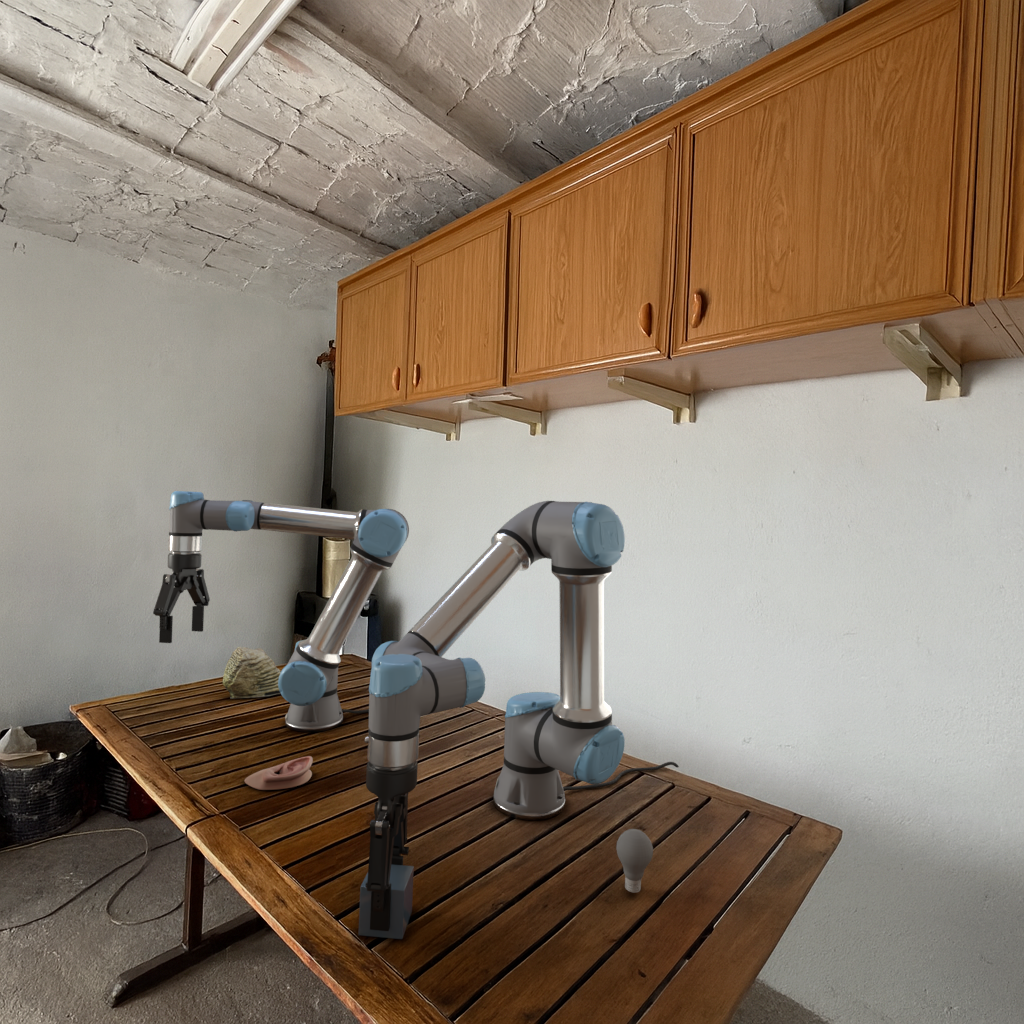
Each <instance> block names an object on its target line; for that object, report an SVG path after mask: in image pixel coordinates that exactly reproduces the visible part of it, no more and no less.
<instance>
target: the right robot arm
mask: <svg viewBox="0 0 1024 1024" xmlns="http://www.w3.org/2000/svg"><path fill="white" fill-rule="evenodd" d="M490 543H491V545H490V546H488V548H487V549H485V551H484V552H483V553H482V554H481V555H480V556H479V557H478V558H477V559H476V560H475V561H474V562H473V563H472V564H471V566H470V567H469V568H468V569H467V570H465V572H464V573H463V574H461V576H460V577H459V578H458V579H457V580H456V581H455V582H454V584H452V585H451V587H449V588H448V590H447V591H446V592H444V594H443V595H441V597H440V598H439V599H438V600H437V601H436V602H435V603H434V604H433V605H432V606H431V607H430V608H429V610H428V611H427V612H426V613H425V614H424V615H423V616H422V617H421V618H420V619H419V620H418V621H417V622H416V623H415V624H414V625H413V626H412V627H411V628H410V629H409V630H408V631H407V633H406V634H404V636H402V638H401V639H400V640H389V641H385V642H384V643H381V644H380V645H378V647H377V648H376V649H375V651H374V653H373V655H372V658H371V670H370V677H369V686H368V693H369V697H368V701H369V702H368V709H369V712H368V731H367V732H368V734H367V735H368V736H365V738H364V743H365V744H367V755H366V757H367V761H368V762H367V763H366V774H365V776H366V777H365V786H366V789H367V790H368V791H369V792H370V793H372V794H374V795H375V796H376V797H377V798H378V799H377V801H375V804H374V808H373V809H374V810H373V815H374V819H371V820H370V822H369V851H368V852H369V853H368V867H367V868H368V869H367V873H368V882H367V883H366V884H365V887H367V891H371V914H370V930H380V931H389V928H390V906H391V883H390V882H389V881H390V872H391V864H394V865H404V855H409V851H410V846H405V845H406V844H407V842H408V815H409V813H408V812H409V811H408V810H409V809H408V808H409V807H408V806H409V793H411V792H412V791H413V790H415V788H416V786H417V784H418V767H419V766H418V765H419V763H418V759H419V754H420V753H419V751H420V749H419V748H420V725H421V717H424V716H430V715H432V714H436V713H441V712H445V711H450V710H455V709H461V708H464V707H466V706H468V705H472V704H474V703H477V702H479V701H480V700H481V699H482V697H483V695H484V693H485V690H486V675H485V672H484V669H483V666H482V665H481V664H480V662H479V661H477V660H476V659H475V658H472V657H457V658H455V659H448V658H446V657H443V656H444V655H445V654H446V653H447V652H448V650H449V649H451V647H452V646H453V645H454V644H455V643H456V642H457V641H458V640H459V638H460V637H461V636H462V635H463V634H464V633H465V632H466V630H467V629H468V628H469V627H470V626H471V625H472V624H473V623H474V622H475V620H476V619H477V618H478V617H479V616H480V615H481V614H482V612H484V610H486V608H487V607H488V606H489V605H490V604H491V603H492V602H493V600H494V599H495V598H497V596H498V595H499V594H500V593H501V592H502V590H503V589H504V588H506V586H507V585H508V584H509V582H510V581H511V580H512V579H513V578H514V577H515V576H516V575H517V573H518V572H519V571H520V572H523V571H527V570H528V569H529V568H530V567H531V565H533V563H535V562H537V561H539V560H542V559H549V560H550V561H551V562H550V563H551V564H550V565H551V570H550V571H551V574H552V575H554V577H555V578H556V579H557V580H558V584H559V585H558V586H559V588H558V589H559V694H557V693H554V692H546V691H531V692H530V691H529V692H523V693H518V694H515V695H513V696H510V698H508V700H507V702H506V707H505V714H504V738H503V739H504V741H503V743H504V744H503V765H502V768H501V771H500V774H499V775H498V776H497V779H496V782H495V783H496V784H495V787H494V791H493V799H492V800H493V805H494V806H495V808H496V809H497V810H498V811H499V812H501V813H502V814H504V815H506V816H508V817H512V818H515V819H519V820H525V821H540V820H547V819H552V818H553V817H556V816H558V815H559V814H561V813H562V812H563V811H564V810H565V807H566V793H565V791H579V790H590V789H597V788H598V789H599V788H604V787H608V786H611V785H614V784H616V783H617V782H618V781H619V780H620V779H621V778H622V777H623V776H624V775H626V774H629V773H635V772H650V771H657V770H661V769H663V768H665V767H667V766H674V767H675V768H680V766H679V764H677V763H676V762H674V761H667V762H664V763H662V764H660V765H656V766H649V767H633V768H628V769H625V770H622V771H621V772H619V773H618V775H617V776H616V777H615V778H613V779H612V780H609V779H610V778H611V777H612V776H613V774H614V773H615V772H616V771H617V768H618V767H619V765H620V763H621V761H622V758H623V755H624V751H625V746H626V745H625V743H626V741H625V735H624V733H623V731H622V730H621V728H619V727H618V726H616V725H615V724H613V711H612V710H613V709H612V707H611V705H610V704H608V703H607V702H606V701H605V581H606V579H607V578H608V577H609V576H610V575H611V574H612V571H613V566H614V565H616V563H618V562H619V561H620V559H621V557H622V553H623V552H624V549H625V544H626V535H625V530H624V526H623V523H622V521H621V519H620V516H619V515H618V514H616V512H615V510H614V509H613V508H611V507H610V506H609V505H607V504H603V503H597V502H591V501H557V500H544V501H539V502H536V503H534V504H531V505H529V506H528V507H526V508H524V509H522V510H520V511H519V512H518V513H516V514H515V515H514V516H513V517H512V518H510V519H509V520H508V521H507V522H505V523H504V524H503V525H502V526H501V527H500V528H499V529H498V530H497V531H496V532H495V533H494V534H493V535H492V536H491V539H490ZM560 772H562V773H564V774H565V775H569V776H570V777H572V778H574V779H575V780H576V781H579V782H584V783H587V785H575V786H572V785H571V786H563V783H562V778H561V775H560ZM607 780H609V781H607Z"/></svg>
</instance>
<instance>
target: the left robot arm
mask: <svg viewBox="0 0 1024 1024" xmlns="http://www.w3.org/2000/svg"><path fill="white" fill-rule="evenodd" d="M168 513H169V514H168V540H167V541H168V548H167V549H168V551H169V553H168V554H167V568H168V569H170V570H171V574H168V573H164V574H163V575H162V582H161V586H160V589H159V593H158V596H157V597H156V598H157V599H156V601H155V605H154V607H153V612H152V613H153V615H154V616H155V617H156V616H157V617H159V625H158V626H159V634H158V635H159V637H158V643H159V644H172V643H173V622H174V621H173V620H174V616H173V615H171V614H172V612H173V610H174V608H175V606H176V604H177V602H178V600H179V597H180V595H181V594H182V593H184V592H185V591H187V593H188V595H189V597H190V599H191V600H192V602H193V605H192V608H191V609H192V610H191V611H192V612H191V632H200V633H202V632H204V621H205V620H204V618H205V607H208V606H209V603H210V601H211V599H210V595H209V591H208V586H207V583H206V580H205V569H203V568H201V567H202V557H203V555H202V553H200V552H202V551H203V530H208V531H209V530H211V531H212V530H213V531H229V532H230V531H231V532H232V531H233V532H247V531H250V530H256V531H257V530H258V531H260V530H261V531H271V532H278V533H290V534H299V535H308V536H316V537H317V536H318V537H326V538H336V539H337V538H339V539H348V540H353V541H352V543H351V545H350V547H349V551H350V553H351V558H350V560H349V562H348V563H347V565H346V567H345V569H344V571H343V572H342V574H341V576H340V578H339V579H338V581H337V583H336V585H335V588H334V589H333V591H332V593H331V595H330V597H329V599H328V600H327V602H326V604H325V606H324V608H323V610H322V612H321V614H320V615H319V617H318V619H317V621H316V623H315V625H314V627H313V629H312V630H311V633H310V634H309V636H308V637H307V639H303V640H302V639H301V640H298V641H297V642H296V643H295V648H294V650H293V653H292V655H291V657H290V658H289V660H288V662H287V663H286V665H285V666H284V667H283V668H282V669H281V670H280V672H281V673H280V676H279V680H278V687H279V691H280V695H281V696H282V698H283V699H284V701H286V702H288V703H289V708H288V711H287V713H286V714H285V716H284V719H285V726H286V728H287V729H289V730H291V731H294V732H295V731H296V732H301V733H316V732H325V731H329V730H332V729H335V728H337V727H339V726H340V725H342V723H343V722H344V714H343V713H347V714H357V715H358V714H366V713H369V708H367V709H359V710H353V709H347V708H342V706H341V702H340V699H339V695H338V682H339V681H338V680H339V678H338V677H339V666H340V664H341V661H342V659H341V657H340V651H341V649H342V648H343V646H344V644H345V642H346V640H347V638H348V636H349V635H350V633H351V631H352V629H353V627H354V625H355V623H356V622H357V619H358V617H359V616H360V614H361V612H362V610H363V608H364V607H365V605H366V603H367V601H368V599H369V597H370V596H371V594H372V591H373V589H374V587H375V586H376V584H377V582H378V580H379V579H380V576H381V575H382V572H384V571H386V570H390V569H391V568H392V566H393V564H394V563H395V561H396V559H397V557H398V555H399V553H400V551H401V550H402V548H403V547H404V546H405V543H406V542H407V540H408V538H409V533H410V526H409V523H408V521H407V519H406V517H405V515H403V514H402V513H401V512H399V511H398V510H395V509H392V508H378V509H365V508H361V509H360V510H358V511H349V510H339V509H329V508H319V507H311V506H310V507H309V506H301V505H291V504H281V503H271V502H260V501H253V500H249V499H242V500H213V499H212V500H210V499H205V497H204V493H203V492H202V491H189V490H187V491H186V490H174V491H173V492H172V493H171V494H170V500H169V507H168Z"/></svg>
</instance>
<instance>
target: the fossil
mask: <svg viewBox="0 0 1024 1024" xmlns="http://www.w3.org/2000/svg"><path fill="white" fill-rule="evenodd" d="M280 673H281V669H279V668H278V667H277V665H276V663H275V662H274V660H273V659H272V658H271V657H270V656H269V655H268V654H267V653H266V652H265V650H264V649H263V648H260V647H258V648H251V647H247V646H246V647H245V646H238V647H237V648H236V649H235V650H233V651H232V653H231V656H230V657H229V659H228V660H227V663H226V666H225V668H224V671H223V675H222V676H223V677H222V685H223V687H224V688H225V690H226V691H228V693H229V698H230V699H250V698H264V697H271V696H275V695H281V693H280V691H279V687H278V680H279V676H280Z"/></svg>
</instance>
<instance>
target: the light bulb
mask: <svg viewBox="0 0 1024 1024" xmlns="http://www.w3.org/2000/svg"><path fill="white" fill-rule="evenodd" d="M615 849H616V854H617V857H618V859H619V861H620V863H621V865H622V867H623V873H624V874H623V875H624V876H625V878H624V888H625V890H627V891H628V892H630V893H634V894H635V893H639V892H640V891H641V889H642V887H641V886H642V879H643V877H644V875H645V871H646V868H647V867H648V866H649V864H650V863H651V861H652V859H653V855H654V847H653V843H652V841H651V838H649V836H648V835H647V834H646V833H645V832H643V831H642V830H641V829H636V828H629V829H627V830H625V831H623V832H622V833H621V834H620V835H619V837H618V839H617V841H616V847H615Z"/></svg>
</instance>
